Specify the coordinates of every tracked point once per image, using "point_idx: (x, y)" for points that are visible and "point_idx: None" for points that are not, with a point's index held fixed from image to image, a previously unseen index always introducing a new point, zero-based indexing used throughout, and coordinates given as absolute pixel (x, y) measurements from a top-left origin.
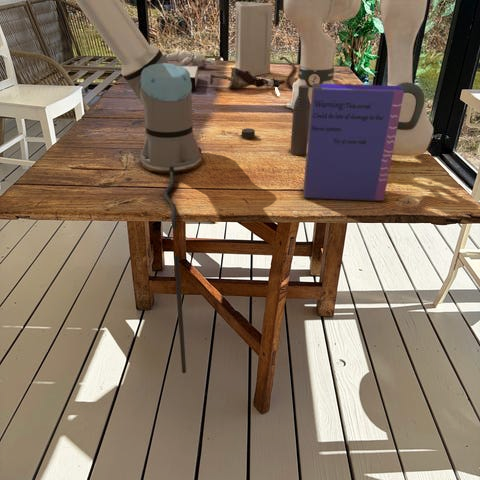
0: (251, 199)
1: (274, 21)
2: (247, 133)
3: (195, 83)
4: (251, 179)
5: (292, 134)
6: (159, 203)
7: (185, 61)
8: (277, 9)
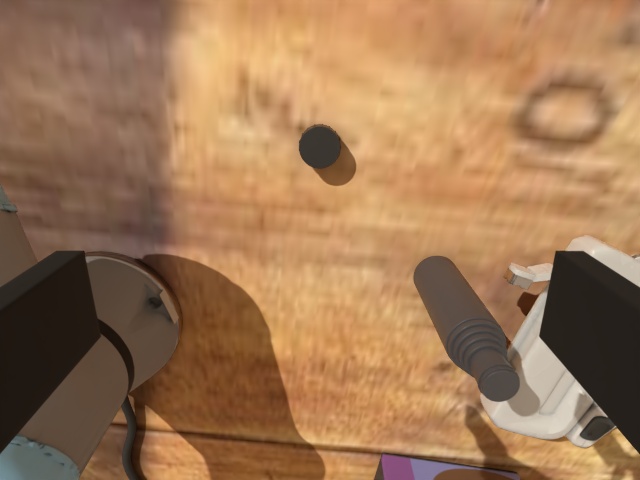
0: (281, 474)
1: (562, 279)
2: (314, 167)
3: None
4: (291, 406)
5: (425, 304)
6: (122, 475)
7: None
8: (628, 431)
